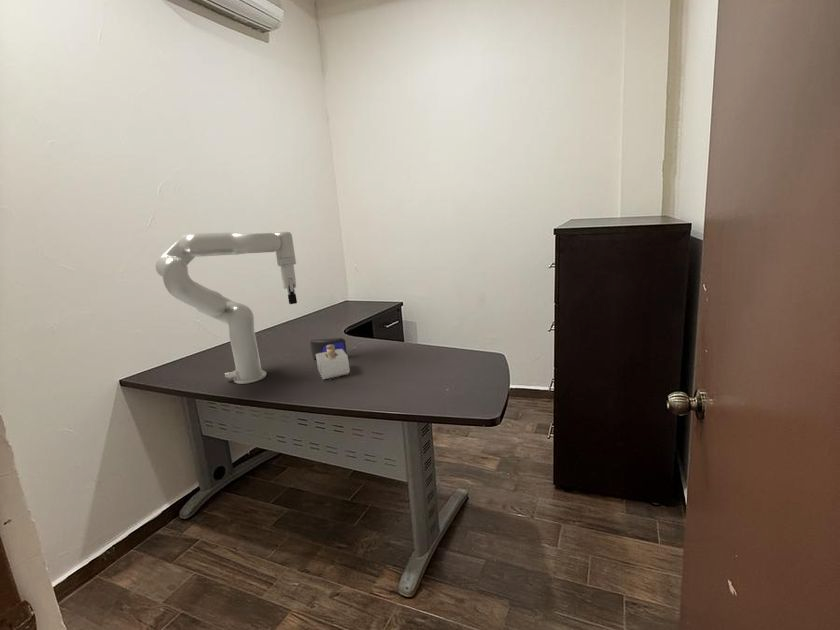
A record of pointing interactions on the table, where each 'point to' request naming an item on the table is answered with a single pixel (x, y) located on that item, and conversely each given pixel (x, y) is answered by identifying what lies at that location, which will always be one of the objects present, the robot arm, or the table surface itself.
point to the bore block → (332, 364)
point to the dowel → (330, 350)
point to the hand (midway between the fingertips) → (293, 303)
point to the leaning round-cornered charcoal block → (321, 344)
